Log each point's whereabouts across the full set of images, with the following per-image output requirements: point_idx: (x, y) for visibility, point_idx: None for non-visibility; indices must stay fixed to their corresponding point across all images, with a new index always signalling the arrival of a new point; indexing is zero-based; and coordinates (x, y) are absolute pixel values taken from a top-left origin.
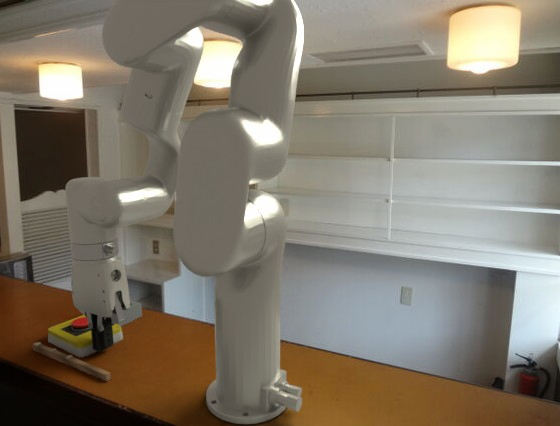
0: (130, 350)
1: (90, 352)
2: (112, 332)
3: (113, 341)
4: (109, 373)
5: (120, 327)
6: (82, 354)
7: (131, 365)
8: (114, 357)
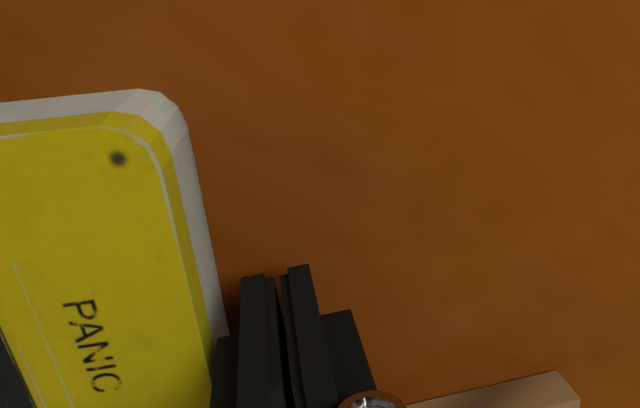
0: (394, 162)
1: None
2: (321, 326)
3: (195, 198)
4: (578, 401)
5: (146, 144)
6: None
7: (548, 249)
8: (387, 273)
